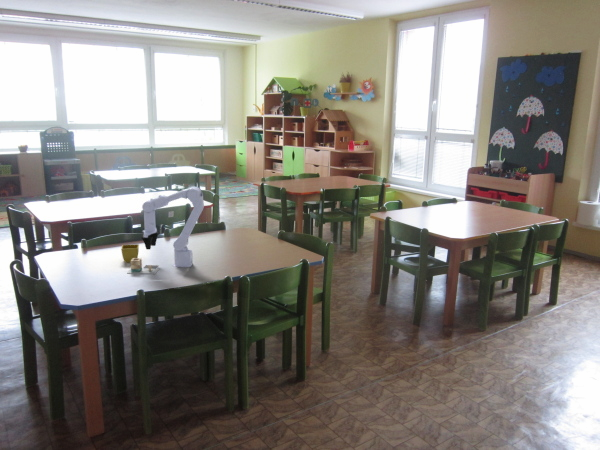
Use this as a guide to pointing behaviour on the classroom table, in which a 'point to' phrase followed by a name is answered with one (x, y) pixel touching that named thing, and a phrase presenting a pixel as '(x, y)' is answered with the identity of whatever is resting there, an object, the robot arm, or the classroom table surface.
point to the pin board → (145, 271)
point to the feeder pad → (151, 266)
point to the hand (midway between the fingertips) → (150, 247)
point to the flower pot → (130, 252)
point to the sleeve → (136, 265)
